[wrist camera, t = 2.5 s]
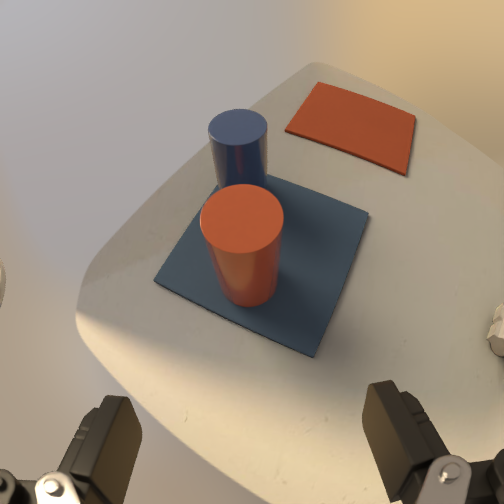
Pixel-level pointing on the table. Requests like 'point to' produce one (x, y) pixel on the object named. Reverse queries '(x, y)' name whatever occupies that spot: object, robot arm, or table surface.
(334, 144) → the terracotta mat
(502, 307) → the bunny figurine
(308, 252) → the blue mat
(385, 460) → the robot arm
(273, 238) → the terracotta canister
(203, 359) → the table surface
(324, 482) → the table surface
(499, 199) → the table surface
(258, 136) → the blue canister
